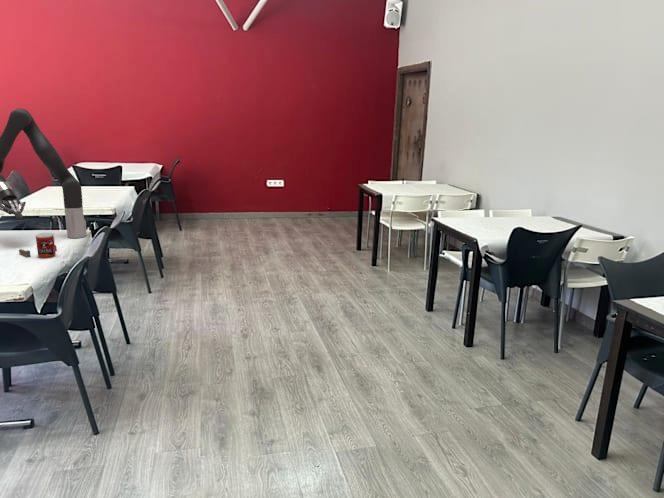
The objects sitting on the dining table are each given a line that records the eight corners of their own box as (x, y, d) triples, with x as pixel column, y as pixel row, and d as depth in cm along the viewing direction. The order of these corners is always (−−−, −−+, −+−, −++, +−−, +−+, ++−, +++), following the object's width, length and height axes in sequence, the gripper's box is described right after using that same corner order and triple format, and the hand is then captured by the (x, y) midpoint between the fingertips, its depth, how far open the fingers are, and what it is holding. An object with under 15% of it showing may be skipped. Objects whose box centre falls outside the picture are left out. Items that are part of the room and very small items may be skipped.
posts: (55, 250, 259) (54, 244, 258) (56, 251, 258) (56, 245, 258) (25, 256, 247) (24, 251, 246) (26, 257, 246) (26, 251, 245)
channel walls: (48, 248, 262) (47, 243, 261) (54, 250, 259) (54, 246, 258) (19, 254, 250) (18, 249, 250) (25, 256, 247) (25, 251, 247)
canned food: (36, 258, 245) (34, 237, 242) (39, 254, 252) (37, 233, 249) (54, 257, 247) (51, 236, 244) (57, 253, 255) (54, 232, 252)
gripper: (-8, 189, 252) (9, 216, 249) (20, 186, 263) (35, 212, 260) (-11, 198, 256) (5, 225, 254) (16, 195, 267) (31, 220, 264)
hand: (20, 218), depth 257 cm, fingers closed
